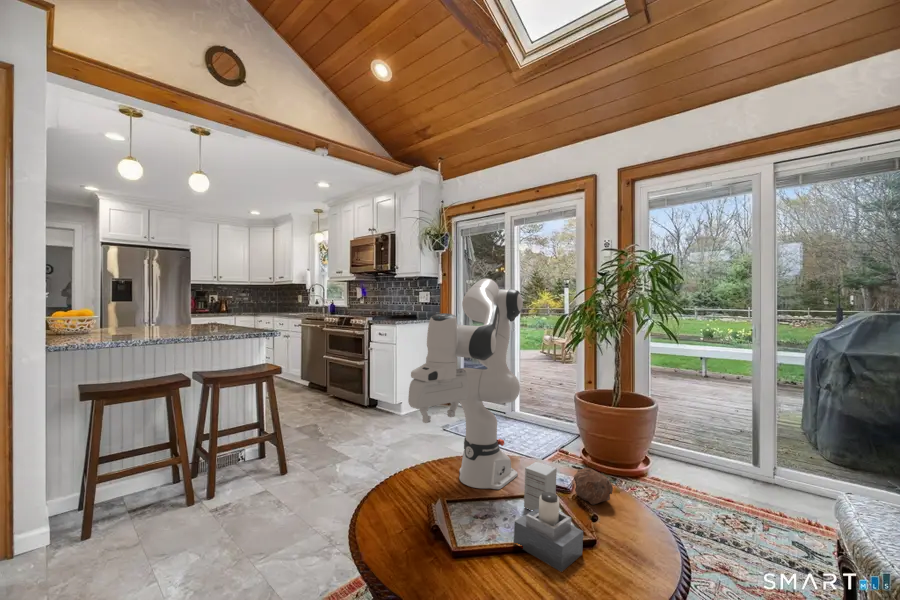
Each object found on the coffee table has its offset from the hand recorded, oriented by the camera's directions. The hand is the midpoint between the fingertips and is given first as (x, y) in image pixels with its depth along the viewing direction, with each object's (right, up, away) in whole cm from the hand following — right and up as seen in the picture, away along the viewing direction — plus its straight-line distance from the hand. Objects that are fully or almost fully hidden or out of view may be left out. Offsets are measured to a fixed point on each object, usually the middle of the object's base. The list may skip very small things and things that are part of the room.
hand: (439, 419), depth 113 cm
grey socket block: (+29, -30, -10) cm, 43 cm away
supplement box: (+31, -31, +10) cm, 45 cm away
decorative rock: (+49, -32, +16) cm, 61 cm away
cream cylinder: (+28, -24, -11) cm, 39 cm away
